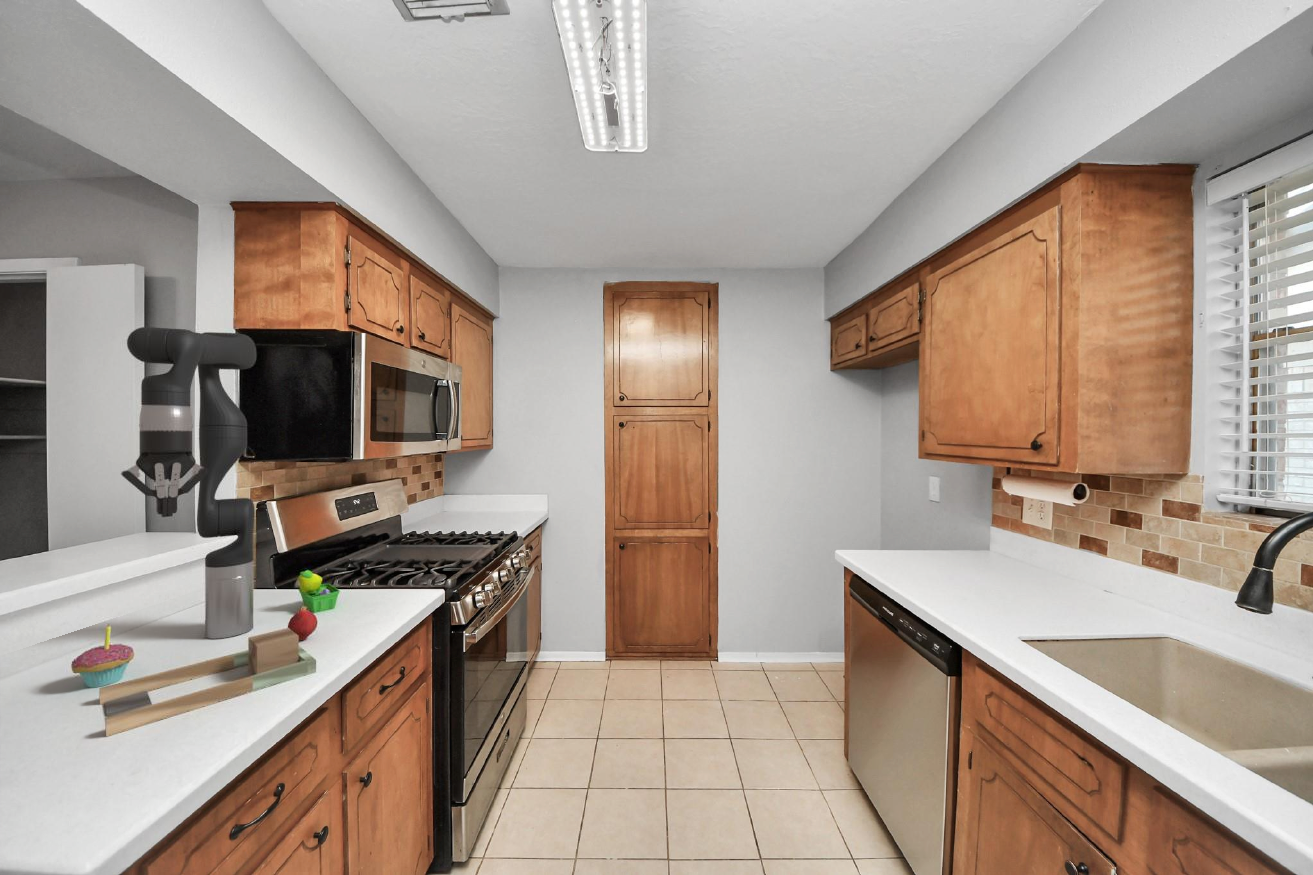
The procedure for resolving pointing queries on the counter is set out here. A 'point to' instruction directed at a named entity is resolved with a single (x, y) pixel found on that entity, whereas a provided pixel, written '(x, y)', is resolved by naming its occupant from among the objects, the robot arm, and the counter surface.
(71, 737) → the counter surface
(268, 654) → the walnut block
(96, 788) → the counter surface
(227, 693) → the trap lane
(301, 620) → the onion
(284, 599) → the counter surface
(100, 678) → the cupcake
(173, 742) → the counter surface
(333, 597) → the fruit basket
